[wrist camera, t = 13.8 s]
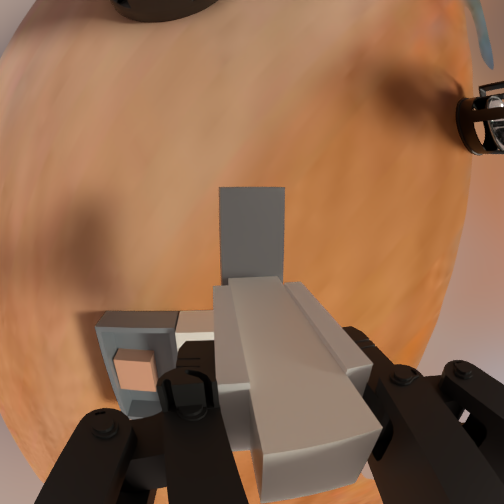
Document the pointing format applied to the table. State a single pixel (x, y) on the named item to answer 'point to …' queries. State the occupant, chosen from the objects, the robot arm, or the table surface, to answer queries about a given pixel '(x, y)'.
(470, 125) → the french press
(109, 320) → the box
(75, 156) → the table surface
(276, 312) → the scraper
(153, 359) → the tile
